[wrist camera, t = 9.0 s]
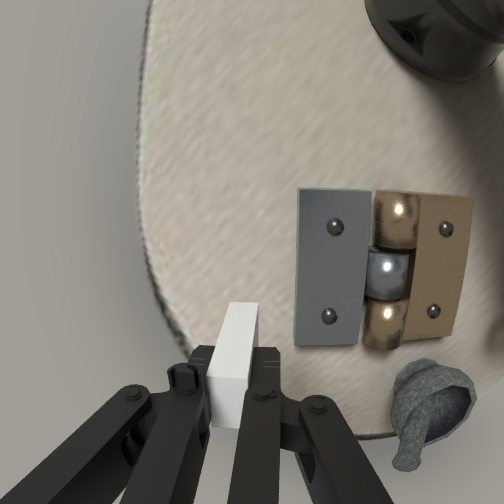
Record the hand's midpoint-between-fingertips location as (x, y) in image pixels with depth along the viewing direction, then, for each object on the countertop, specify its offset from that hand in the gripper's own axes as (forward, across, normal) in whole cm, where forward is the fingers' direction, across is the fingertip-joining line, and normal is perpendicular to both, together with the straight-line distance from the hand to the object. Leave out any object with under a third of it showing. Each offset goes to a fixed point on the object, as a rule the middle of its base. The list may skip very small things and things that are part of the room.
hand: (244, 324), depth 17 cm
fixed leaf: (+13, +15, -1) cm, 20 cm away
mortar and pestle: (+13, +18, -15) cm, 27 cm away
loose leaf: (+13, +8, -1) cm, 15 cm away
